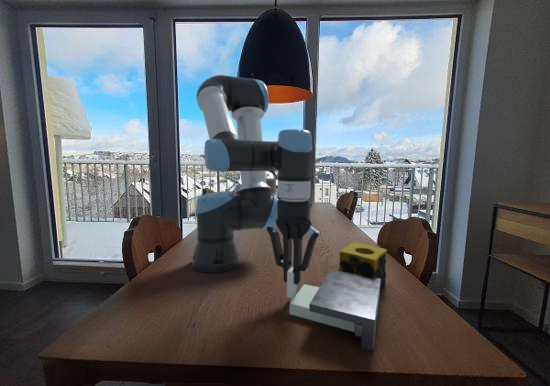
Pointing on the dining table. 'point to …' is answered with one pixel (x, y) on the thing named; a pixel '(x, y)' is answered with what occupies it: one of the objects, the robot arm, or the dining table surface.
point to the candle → (364, 261)
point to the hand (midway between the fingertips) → (291, 295)
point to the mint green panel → (301, 309)
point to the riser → (350, 302)
